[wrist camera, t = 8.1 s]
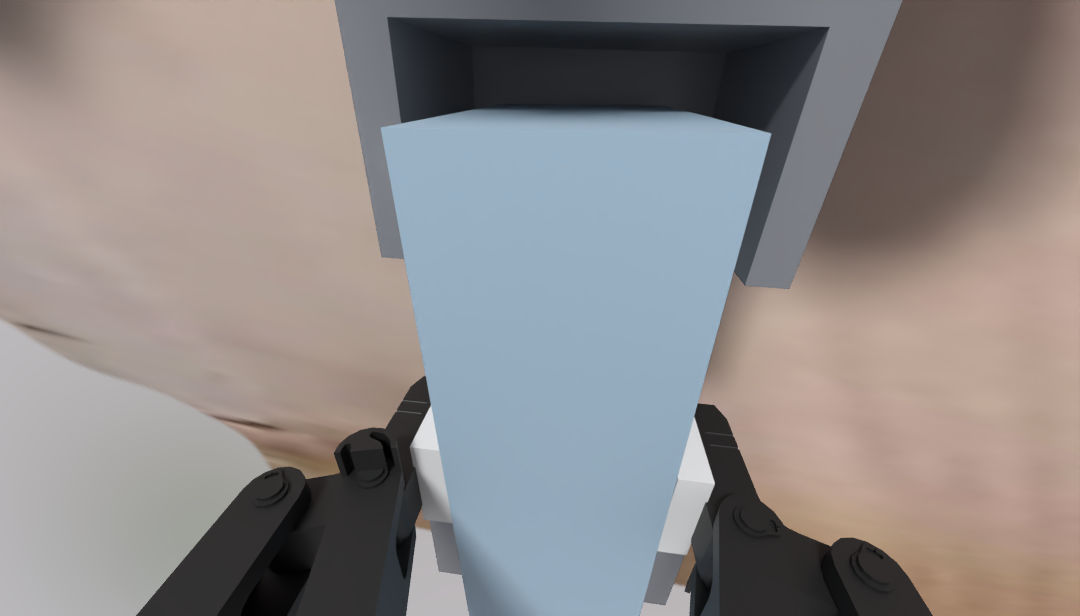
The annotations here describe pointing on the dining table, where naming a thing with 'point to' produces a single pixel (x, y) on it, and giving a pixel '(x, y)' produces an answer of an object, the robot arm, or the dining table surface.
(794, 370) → the dining table surface
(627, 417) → the light blue block
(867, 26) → the endcap rail
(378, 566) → the robot arm
